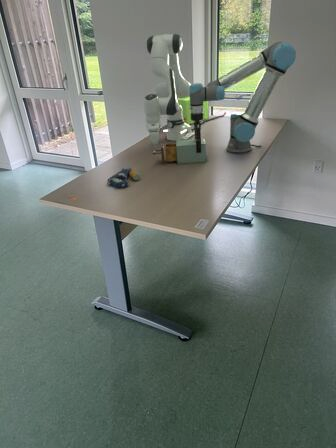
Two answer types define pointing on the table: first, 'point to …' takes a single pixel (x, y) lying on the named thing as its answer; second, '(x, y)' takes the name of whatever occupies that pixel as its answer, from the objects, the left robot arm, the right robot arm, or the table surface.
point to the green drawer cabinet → (190, 151)
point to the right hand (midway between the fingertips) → (198, 149)
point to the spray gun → (123, 177)
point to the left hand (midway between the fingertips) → (156, 146)
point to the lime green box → (186, 111)
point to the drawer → (168, 152)
